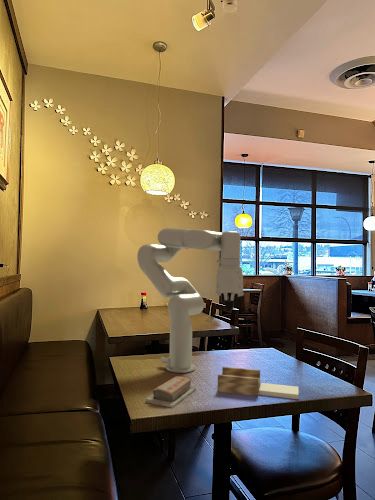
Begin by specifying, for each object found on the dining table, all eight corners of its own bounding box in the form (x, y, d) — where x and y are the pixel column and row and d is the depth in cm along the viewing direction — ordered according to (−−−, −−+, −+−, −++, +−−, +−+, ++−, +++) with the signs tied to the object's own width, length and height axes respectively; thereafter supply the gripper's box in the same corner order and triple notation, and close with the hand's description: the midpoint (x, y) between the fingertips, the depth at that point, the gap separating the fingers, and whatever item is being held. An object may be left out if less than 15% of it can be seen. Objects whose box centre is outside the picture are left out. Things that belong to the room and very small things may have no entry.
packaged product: (171, 373, 130) (196, 377, 126) (171, 387, 130) (196, 391, 125) (145, 388, 114) (172, 393, 109) (145, 403, 113) (172, 409, 109)
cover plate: (259, 396, 122) (259, 390, 122) (261, 388, 130) (261, 382, 130) (298, 400, 118) (298, 394, 118) (298, 392, 126) (298, 386, 126)
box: (217, 391, 124) (217, 375, 124) (222, 381, 135) (222, 366, 135) (258, 396, 120) (258, 379, 121) (260, 385, 131) (260, 370, 131)
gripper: (209, 262, 136) (208, 310, 135) (248, 263, 132) (247, 313, 131) (213, 262, 143) (212, 308, 142) (250, 263, 139) (249, 310, 139)
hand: (229, 310), depth 137 cm, fingers closed
